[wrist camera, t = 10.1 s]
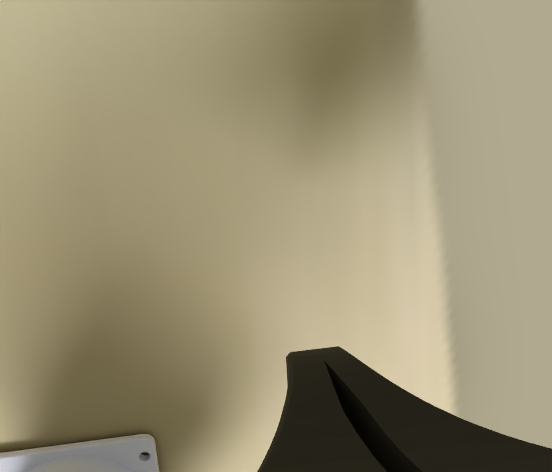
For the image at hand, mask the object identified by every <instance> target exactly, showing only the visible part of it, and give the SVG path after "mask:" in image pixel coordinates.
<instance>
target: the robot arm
mask: <svg viewBox="0 0 552 472" xmlns="http://www.w3.org/2000/svg"><path fill="white" fill-rule="evenodd" d="M286 364H287V381H288V389H287V396H286V400H285V404H284V408H283V412H282V415H281V419H280V422H279V425H278V428H277V431H276V433H275V436H274V438H273V441H272V443H271V446H270V448H269V450H268V452H267V454H266V456H265V458H264V460H263V462H262V464H261V466H260V468H259V470H258V471H257V472H552V449H551V448H546V447H543V446H540V445H536V444H532V443H528V442H525V441H522V440H518V439H515V438H512V437H509V436H506V435H503V434H500V433H498V432H495V431H492V430H489V429H487V428H484V427H481V426H478V425H476V424H473V423H471V422H468V421H466V420H463V419H461V418H459V417H457V416H454V415H452V414H450V413H448V412H446V411H444V410H441V409H439V408H437V407H435V406H433V405H431V404H429V403H427V402H425V401H423V400H421V399H420V398H418V397H416V396H414V395H413V394H411V393H409V392H407V391H406V390H404V389H402V388H400V387H399V386H397V385H396V384H394V383H392V382H391V381H389V380H388V379H386V378H384V377H383V376H381V375H380V374H378V373H377V372H375V371H374V370H372V369H371V368H370V367H368V366H367V365H365V364H364V363H362V362H361V361H360V360H358V359H357V358H355V357H354V356H352V355H351V354H350V353H348V352H347V351H345V350H344V349H342V348H341V347H330V348H322V349H313V350H305V351H297V352H290V353H289V354H288V356H287V357H286ZM142 452H148V453H149V455H147V456H145V455H142V454H141V453H142ZM0 472H159V465H158V459H157V452H156V445H155V440H154V438H153V437H152V436H151V435H149V434H138V435H131V436H123V437H116V438H108V439H101V440H93V441H86V442H79V443H71V444H64V445H56V446H49V447H41V448H34V449H26V450H19V451H11V452H4V453H0Z"/></svg>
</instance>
